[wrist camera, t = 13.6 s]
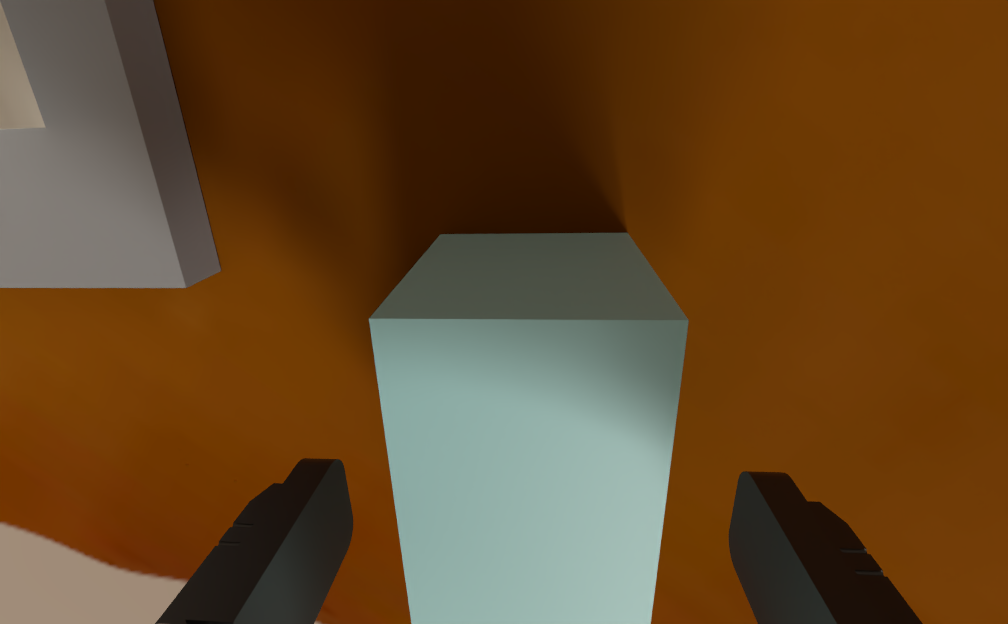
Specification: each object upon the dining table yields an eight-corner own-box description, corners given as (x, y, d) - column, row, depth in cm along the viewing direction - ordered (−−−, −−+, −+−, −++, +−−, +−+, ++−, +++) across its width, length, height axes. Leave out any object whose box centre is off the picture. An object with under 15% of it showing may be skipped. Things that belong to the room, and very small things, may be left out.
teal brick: (440, 233, 13) (368, 318, 8) (627, 231, 13) (688, 320, 7) (458, 469, 16) (415, 650, 11) (610, 473, 16) (645, 664, 10)
